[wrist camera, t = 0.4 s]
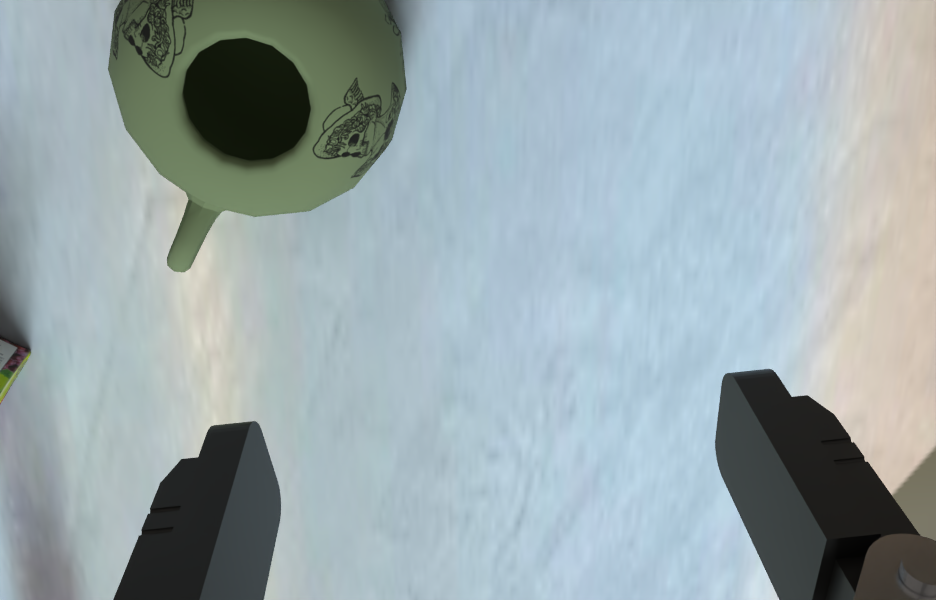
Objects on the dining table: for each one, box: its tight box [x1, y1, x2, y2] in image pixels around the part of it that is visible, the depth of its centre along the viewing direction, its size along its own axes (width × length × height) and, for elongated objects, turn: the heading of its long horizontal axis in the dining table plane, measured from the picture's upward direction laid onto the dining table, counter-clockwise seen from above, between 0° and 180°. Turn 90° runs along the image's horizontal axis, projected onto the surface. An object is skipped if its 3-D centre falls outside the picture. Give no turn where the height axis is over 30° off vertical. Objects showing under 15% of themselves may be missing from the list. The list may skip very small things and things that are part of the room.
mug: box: [108, 0, 406, 272], centre depth 33 cm, size 16×13×9 cm
